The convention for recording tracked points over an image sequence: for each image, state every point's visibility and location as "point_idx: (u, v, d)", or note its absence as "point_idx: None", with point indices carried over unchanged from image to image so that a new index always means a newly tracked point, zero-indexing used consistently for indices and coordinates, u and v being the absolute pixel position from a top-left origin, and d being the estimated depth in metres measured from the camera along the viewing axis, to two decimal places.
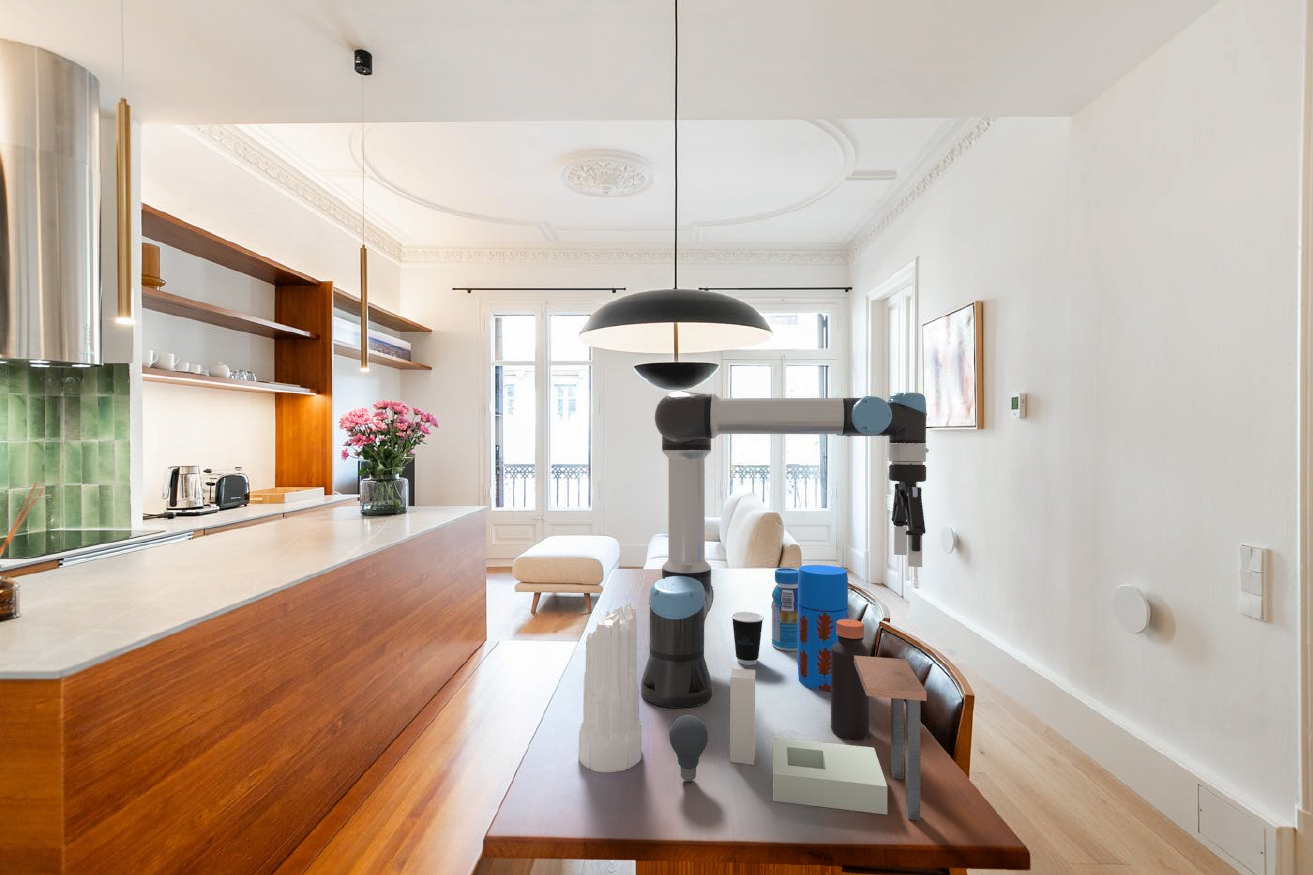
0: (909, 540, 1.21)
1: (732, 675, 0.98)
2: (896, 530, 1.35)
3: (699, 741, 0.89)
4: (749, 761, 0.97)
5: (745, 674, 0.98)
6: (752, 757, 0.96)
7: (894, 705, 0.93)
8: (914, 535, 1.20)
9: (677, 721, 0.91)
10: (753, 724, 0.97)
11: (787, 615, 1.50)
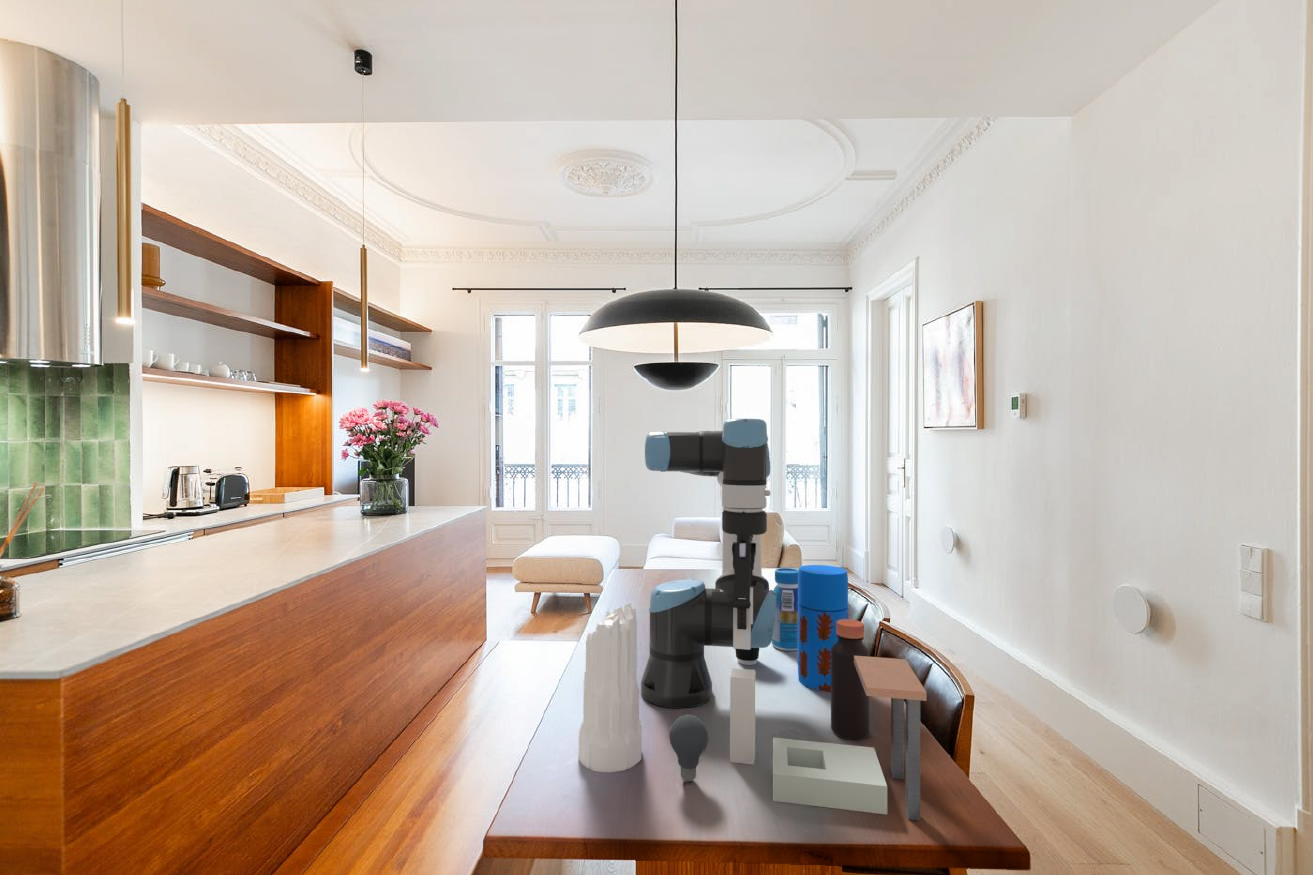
0: (734, 614, 0.92)
1: (732, 675, 0.98)
2: None
3: (699, 741, 0.89)
4: (749, 761, 0.97)
5: (745, 674, 0.98)
6: (752, 757, 0.96)
7: (894, 705, 0.93)
8: (738, 608, 0.91)
9: (677, 721, 0.91)
10: (753, 724, 0.97)
11: (787, 615, 1.50)
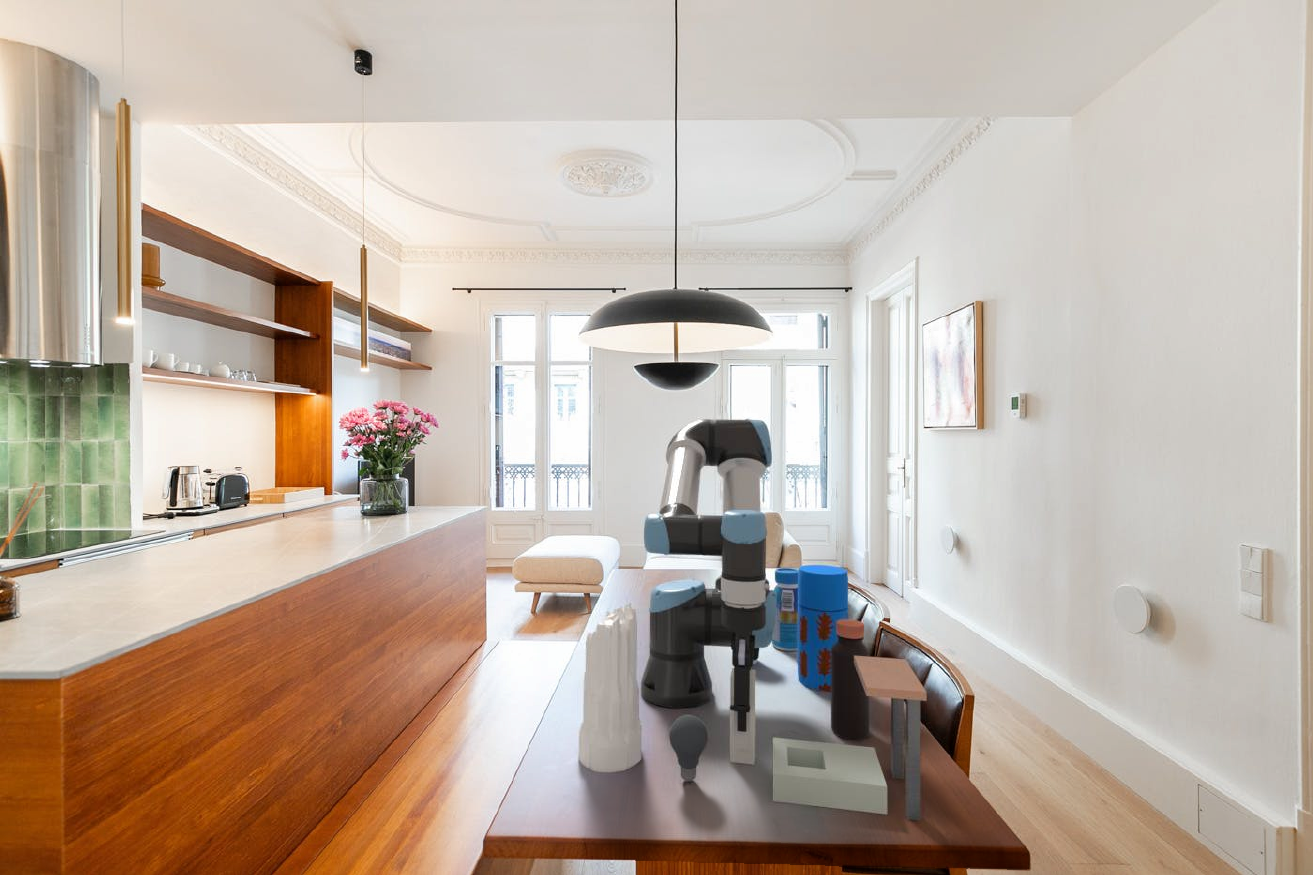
0: (735, 715, 0.96)
1: (732, 675, 0.98)
2: None
3: (699, 741, 0.89)
4: (749, 761, 0.97)
5: None
6: (752, 757, 0.96)
7: (894, 705, 0.93)
8: (738, 712, 0.95)
9: (677, 721, 0.91)
10: (753, 724, 0.97)
11: (787, 615, 1.50)
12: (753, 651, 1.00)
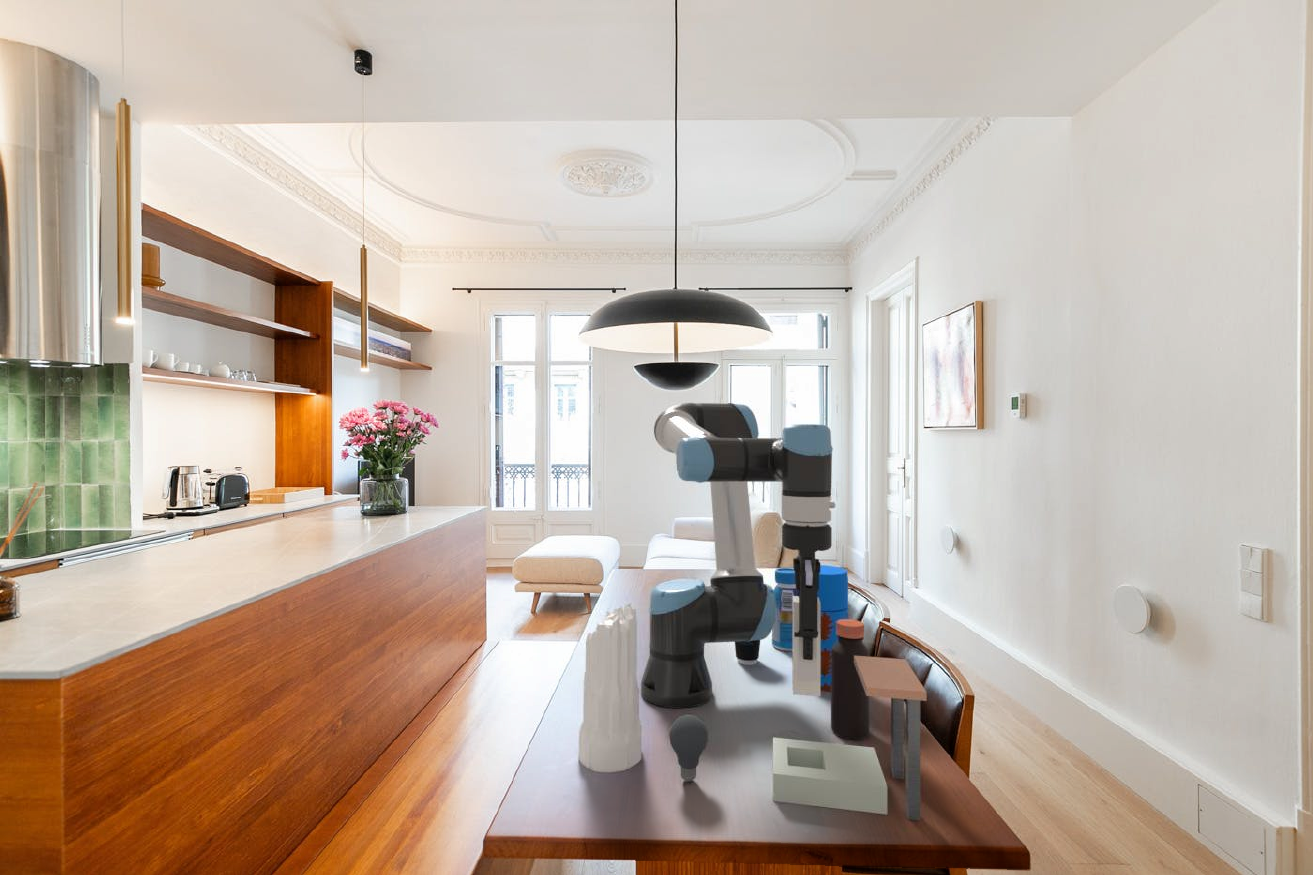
0: (799, 643, 0.89)
1: (795, 601, 0.90)
2: None
3: (699, 741, 0.89)
4: (815, 693, 0.89)
5: None
6: (818, 688, 0.89)
7: (894, 705, 0.93)
8: (804, 638, 0.87)
9: (677, 721, 0.91)
10: (819, 652, 0.89)
11: (787, 615, 1.50)
12: None
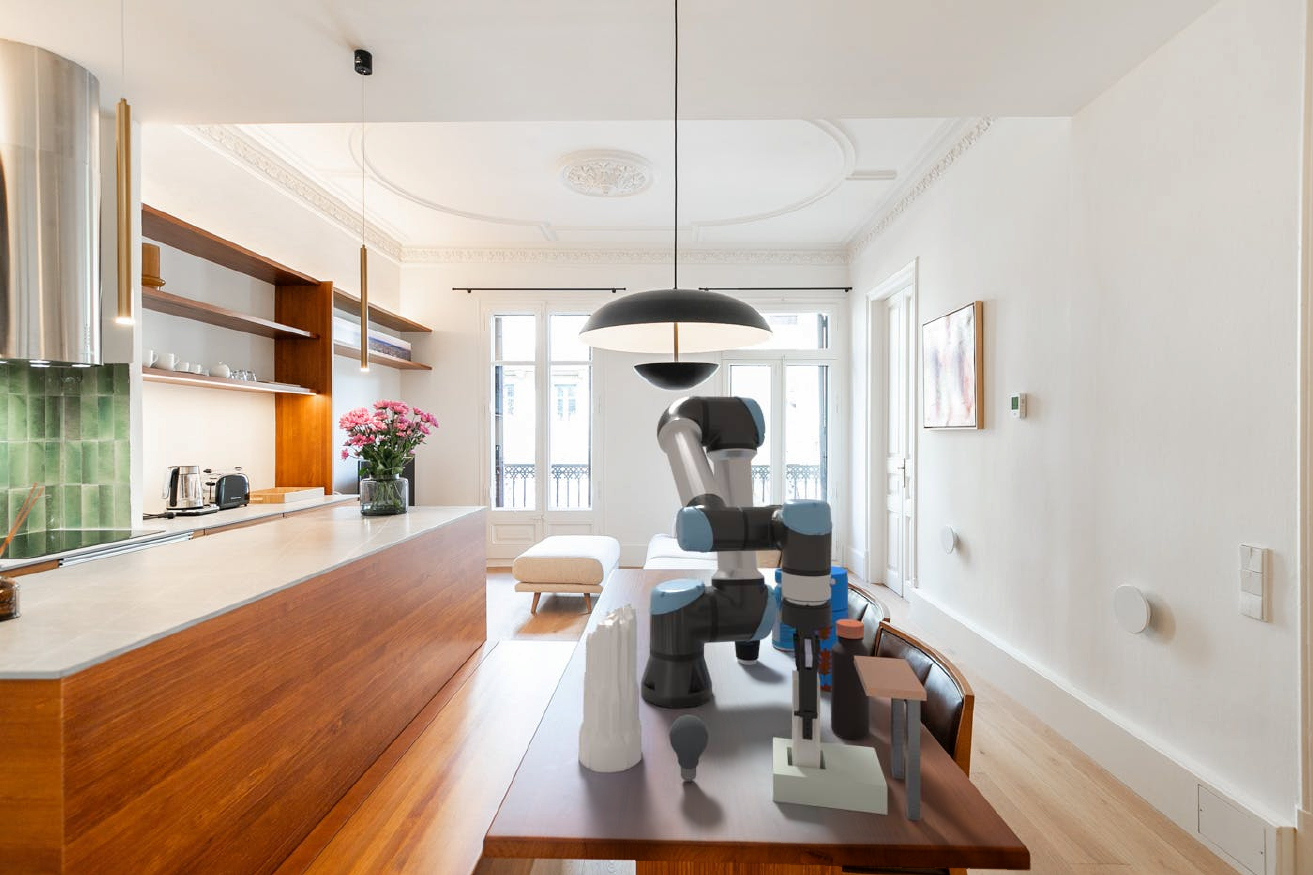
0: (799, 722, 0.89)
1: (795, 678, 0.90)
2: None
3: (699, 741, 0.89)
4: None
5: None
6: (818, 767, 0.89)
7: (894, 705, 0.93)
8: (804, 718, 0.87)
9: (677, 721, 0.91)
10: (819, 731, 0.89)
11: None
12: None
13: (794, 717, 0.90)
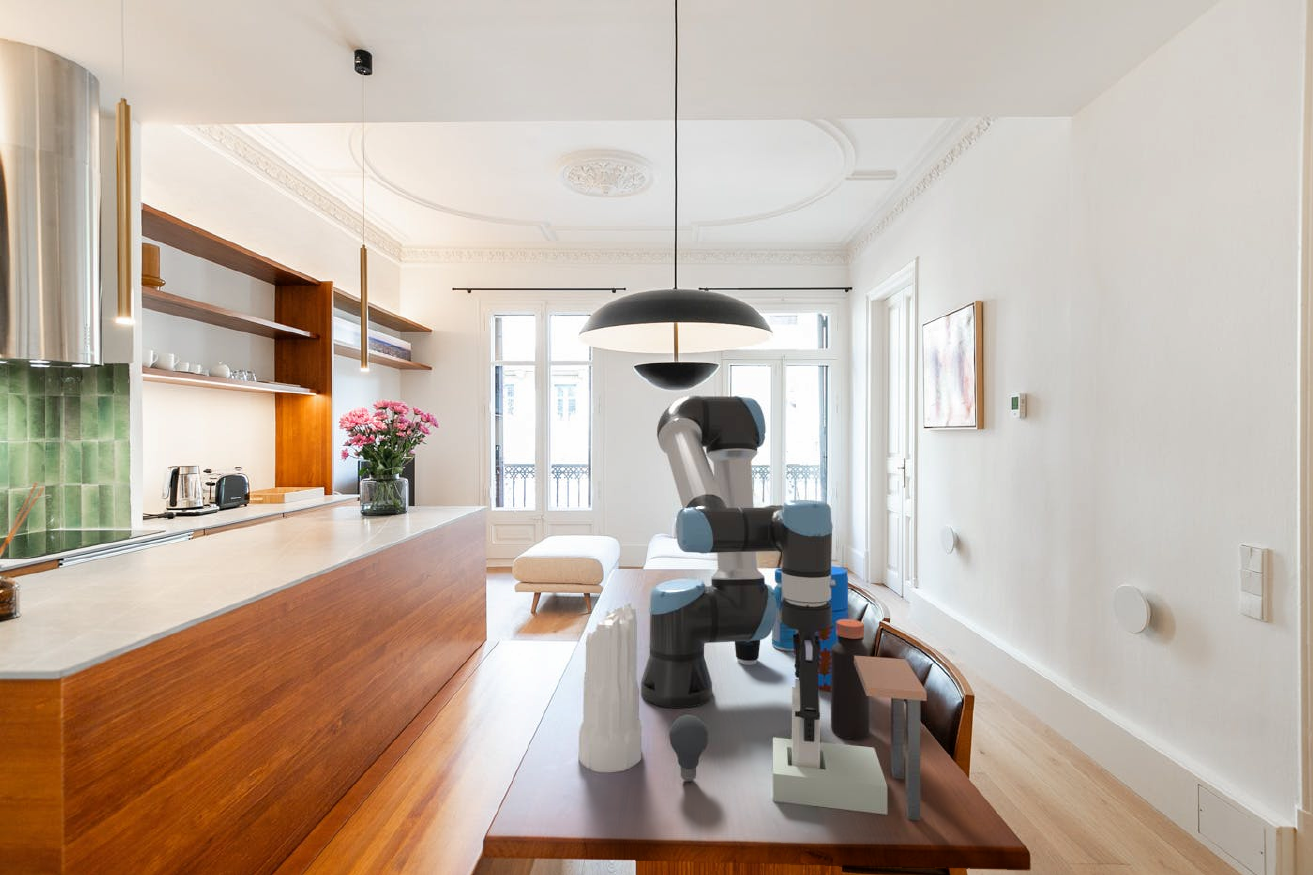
0: (800, 723, 0.85)
1: (794, 695, 0.90)
2: (798, 686, 0.97)
3: (699, 741, 0.89)
4: None
5: None
6: None
7: (894, 705, 0.93)
8: (806, 719, 0.83)
9: (677, 721, 0.91)
10: (818, 749, 0.89)
11: None
12: None
13: (794, 735, 0.89)
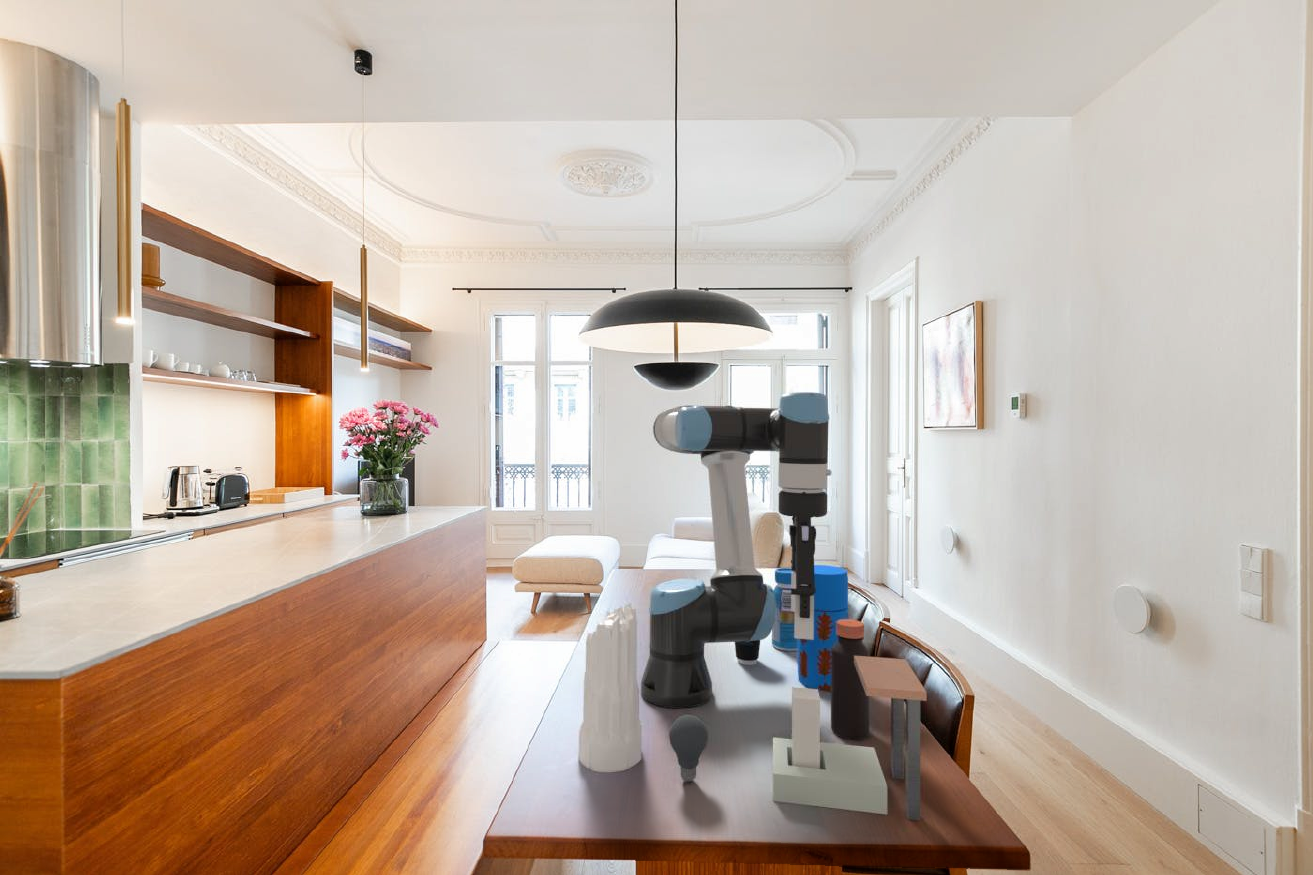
0: (796, 601, 0.86)
1: (794, 695, 0.90)
2: (794, 578, 0.99)
3: (699, 741, 0.89)
4: None
5: (808, 695, 0.91)
6: None
7: (894, 705, 0.93)
8: (801, 595, 0.85)
9: (677, 721, 0.91)
10: (818, 749, 0.89)
11: (787, 615, 1.50)
12: None
13: (794, 735, 0.89)
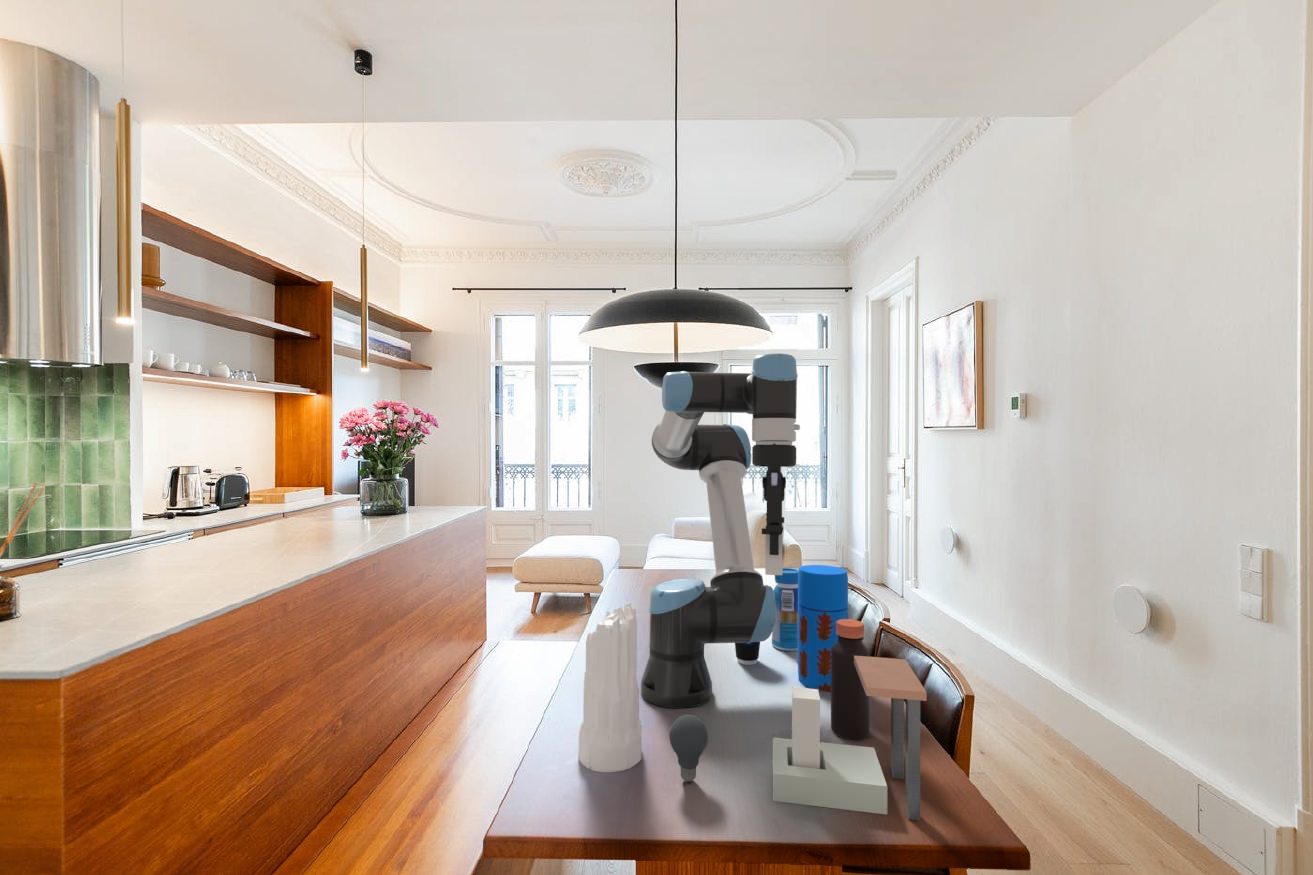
0: (766, 541, 0.95)
1: (794, 695, 0.90)
2: None
3: (699, 741, 0.89)
4: None
5: (808, 695, 0.91)
6: None
7: (894, 705, 0.93)
8: (771, 534, 0.93)
9: (677, 721, 0.91)
10: (818, 749, 0.89)
11: (787, 615, 1.50)
12: None
13: (794, 735, 0.89)
